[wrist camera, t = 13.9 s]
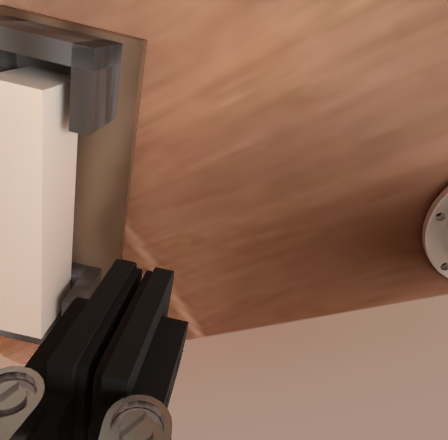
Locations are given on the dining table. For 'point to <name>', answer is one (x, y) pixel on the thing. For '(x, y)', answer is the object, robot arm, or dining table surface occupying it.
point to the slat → (35, 198)
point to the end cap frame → (86, 129)
